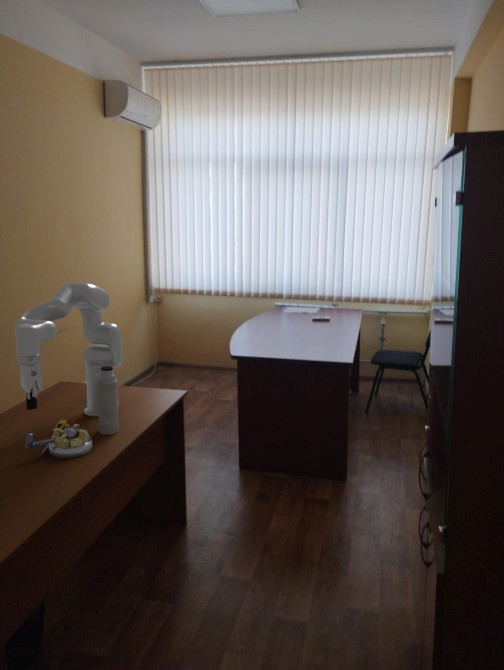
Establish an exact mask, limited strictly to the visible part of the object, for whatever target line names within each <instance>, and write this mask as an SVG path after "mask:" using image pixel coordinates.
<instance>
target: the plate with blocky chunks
mask: <svg viewBox="0 0 504 670" xmlns="http://www.w3.org/2000/svg"><path fill="white" fill-rule="evenodd" d="M63 434H67V437H68V440H70V439H75V438H78V437H77V428H75V427H73V426H70V423H69V424H68V423H67V425H65V429H63ZM91 450H93V438H92V437H91V435H89V440H88V441H87V442H86V443H85V444H82V445H81V446H77V447H73V448H70V447H69V448H59V447H56V446H55V445H54V444H53V443H49V446H48V452H49V454H50V455H51V456H52V457H55V458H59V459H70V458H77V457H81V456H84V455H86V454H88V453H89V452H91Z"/></svg>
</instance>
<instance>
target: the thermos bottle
mask: <svg viewBox="0 0 504 670" xmlns="http://www.w3.org/2000/svg"><path fill="white" fill-rule="evenodd" d="M113 369H114V367H112V366H103V367H101V374H100V375H99V380H97V389H98V416H97V417H98V432H99V434H101V435H107V436H110V435H114V434H116V433H117V434H118V432H119V425H120V424H119V405H118V401H119V400H118V399H119V397H118V395H119V394H118V391H119V390H118V379H117V378H116V377H117V376H116V373H114V370H113Z"/></svg>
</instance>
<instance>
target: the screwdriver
mask: <svg viewBox="0 0 504 670" xmlns="http://www.w3.org/2000/svg"><path fill="white" fill-rule="evenodd" d="M65 425H68V421H67V420H65V419H61V420H60V421H58V423H56V425H55V428H60V429H61V430H63V429H65ZM52 435H54V433H53V431H52V433H51V436H52ZM48 448H49V444H46V446H45V447H44V449H42V452H41V453H40V455H41V456H42V455H44V453H45V451H46V450H47V449H48Z"/></svg>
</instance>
